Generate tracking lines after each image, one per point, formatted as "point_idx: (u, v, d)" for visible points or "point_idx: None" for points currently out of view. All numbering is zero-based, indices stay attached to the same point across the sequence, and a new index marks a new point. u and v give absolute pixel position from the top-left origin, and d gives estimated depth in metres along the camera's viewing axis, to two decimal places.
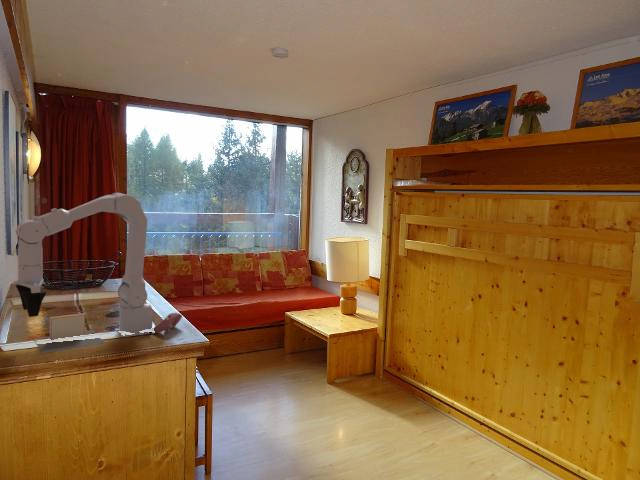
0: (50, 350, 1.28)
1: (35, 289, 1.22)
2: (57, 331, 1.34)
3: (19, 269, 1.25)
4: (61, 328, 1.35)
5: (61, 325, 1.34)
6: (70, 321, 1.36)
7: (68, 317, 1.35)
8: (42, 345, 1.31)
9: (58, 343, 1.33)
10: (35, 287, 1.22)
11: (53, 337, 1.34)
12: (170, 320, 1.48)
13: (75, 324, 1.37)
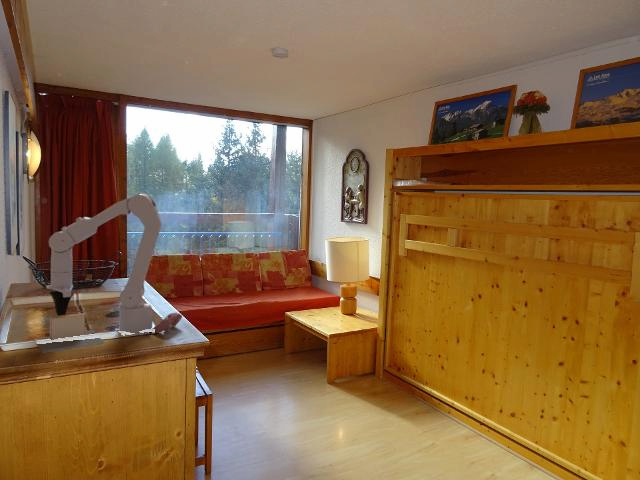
0: (50, 350, 1.28)
1: (67, 294, 1.35)
2: (57, 331, 1.34)
3: (52, 275, 1.38)
4: (61, 328, 1.35)
5: (61, 325, 1.34)
6: (70, 321, 1.36)
7: (68, 317, 1.35)
8: (42, 345, 1.31)
9: (58, 343, 1.33)
10: (67, 292, 1.35)
11: (53, 337, 1.34)
12: (170, 320, 1.48)
13: (75, 324, 1.37)
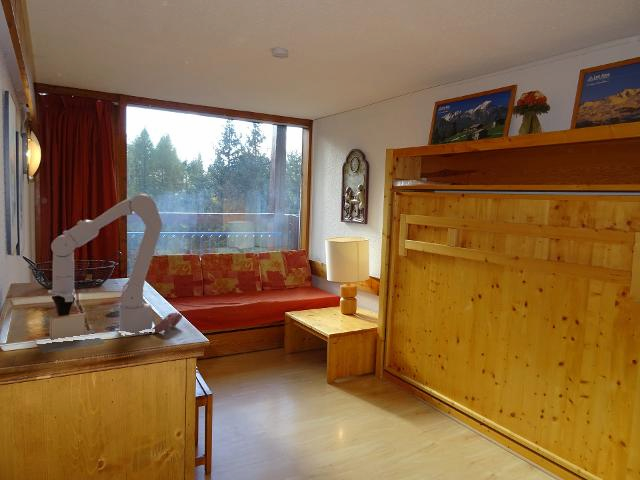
0: (50, 350, 1.28)
1: (69, 298, 1.34)
2: (57, 331, 1.34)
3: (54, 280, 1.36)
4: (61, 328, 1.35)
5: (61, 325, 1.34)
6: (70, 321, 1.36)
7: (68, 317, 1.35)
8: (42, 345, 1.31)
9: (58, 343, 1.33)
10: (69, 296, 1.34)
11: (53, 337, 1.34)
12: (169, 320, 1.48)
13: (75, 324, 1.37)
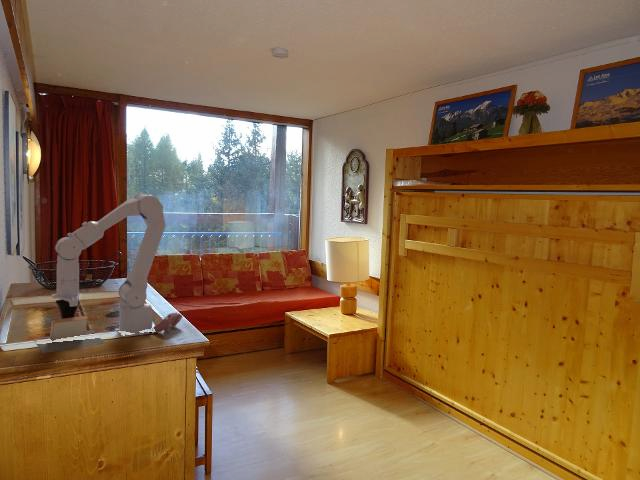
0: (50, 350, 1.28)
1: (73, 303, 1.30)
2: (58, 333, 1.33)
3: (58, 284, 1.32)
4: (63, 330, 1.34)
5: (63, 328, 1.33)
6: (72, 325, 1.34)
7: (70, 322, 1.34)
8: (42, 345, 1.31)
9: (58, 343, 1.33)
10: (73, 301, 1.30)
11: (54, 338, 1.33)
12: (169, 320, 1.48)
13: (77, 327, 1.36)
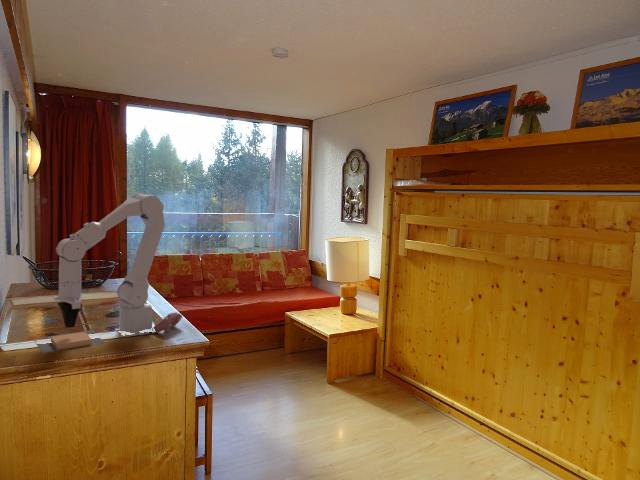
0: (50, 350, 1.28)
1: (76, 305, 1.28)
2: None
3: (60, 286, 1.31)
4: None
5: None
6: None
7: (74, 346, 1.31)
8: (42, 345, 1.31)
9: None
10: (76, 303, 1.28)
11: None
12: (169, 320, 1.48)
13: None
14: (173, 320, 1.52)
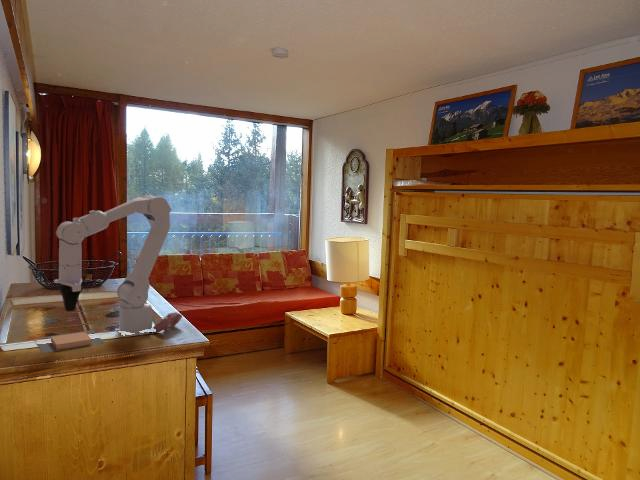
0: (50, 350, 1.28)
1: (76, 288, 1.27)
2: None
3: (60, 269, 1.30)
4: None
5: None
6: None
7: (74, 346, 1.31)
8: (42, 345, 1.31)
9: None
10: (76, 286, 1.27)
11: None
12: (169, 320, 1.48)
13: None
14: (173, 320, 1.52)
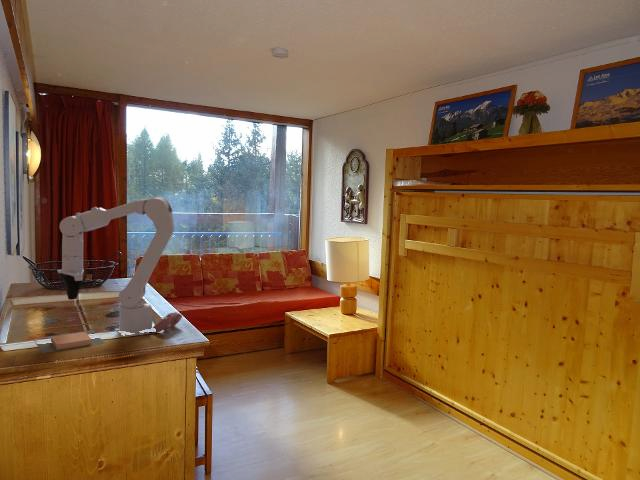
0: (50, 350, 1.28)
1: (78, 277, 1.37)
2: None
3: (63, 259, 1.39)
4: None
5: None
6: None
7: (74, 346, 1.31)
8: (42, 345, 1.31)
9: None
10: (78, 275, 1.37)
11: None
12: (169, 320, 1.49)
13: None
14: (173, 320, 1.52)
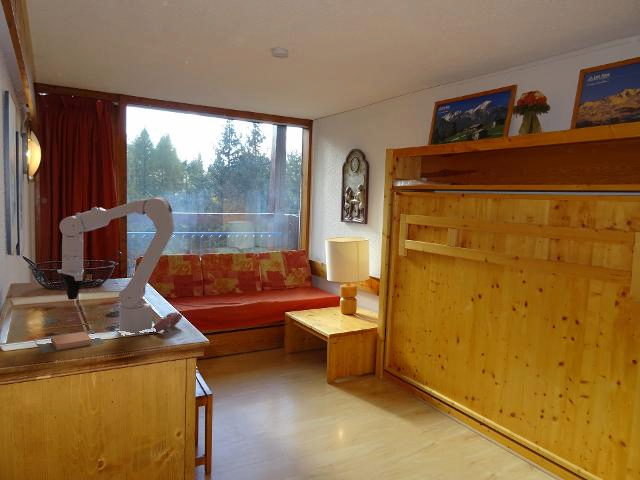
0: (50, 350, 1.28)
1: (78, 277, 1.37)
2: None
3: (63, 259, 1.39)
4: None
5: None
6: None
7: (74, 346, 1.31)
8: (42, 345, 1.31)
9: None
10: (78, 275, 1.37)
11: None
12: (168, 320, 1.49)
13: None
14: (173, 320, 1.52)
